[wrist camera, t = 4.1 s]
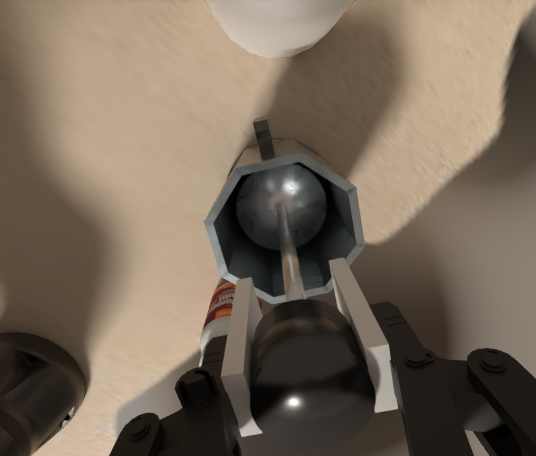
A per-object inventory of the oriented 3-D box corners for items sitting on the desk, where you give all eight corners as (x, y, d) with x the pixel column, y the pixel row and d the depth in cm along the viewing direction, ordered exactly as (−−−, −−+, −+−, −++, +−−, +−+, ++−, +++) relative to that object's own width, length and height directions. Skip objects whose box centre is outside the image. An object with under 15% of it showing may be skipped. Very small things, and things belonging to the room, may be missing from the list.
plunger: (249, 254, 34) (221, 510, 12) (226, 173, 31) (141, 320, 10) (332, 236, 33) (453, 471, 12) (316, 152, 31) (437, 258, 9)
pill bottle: (242, 270, 40) (234, 329, 29) (271, 307, 42) (274, 375, 31) (201, 296, 41) (178, 362, 31) (231, 331, 43) (220, 405, 32)
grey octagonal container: (241, 252, 39) (230, 315, 28) (206, 130, 35) (175, 142, 23) (340, 230, 39) (373, 285, 27) (318, 102, 34) (346, 100, 22)
